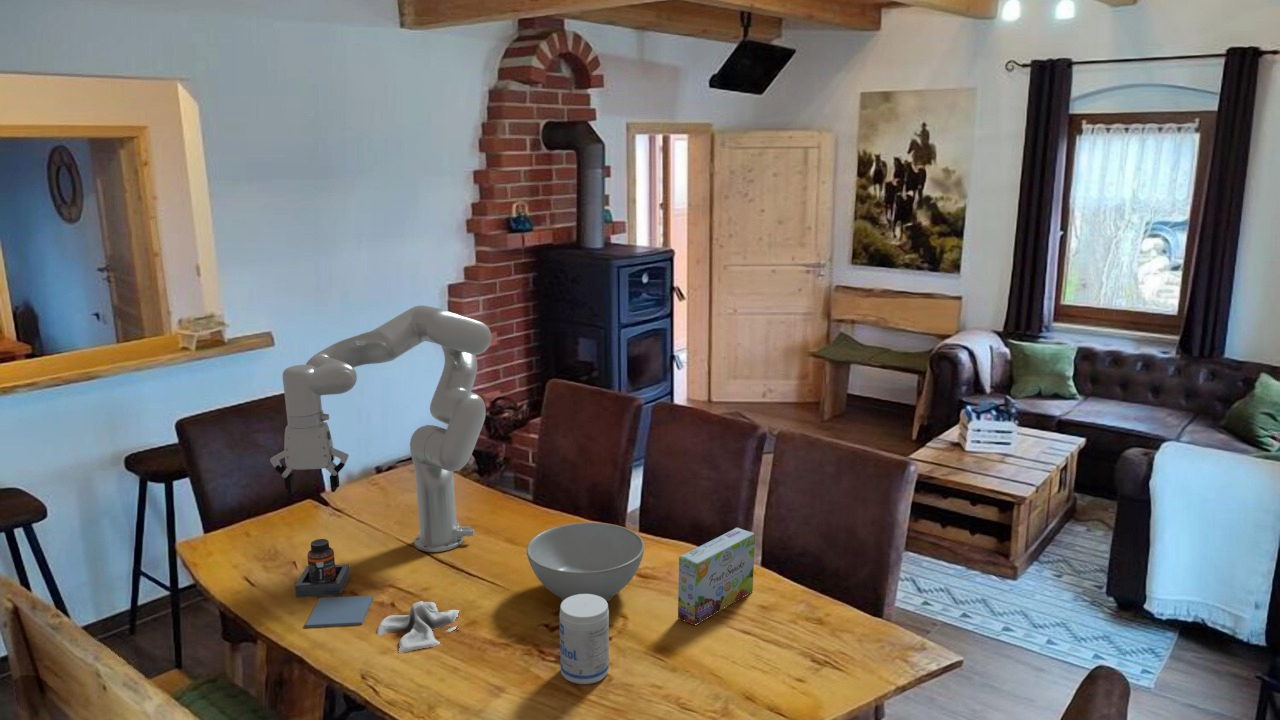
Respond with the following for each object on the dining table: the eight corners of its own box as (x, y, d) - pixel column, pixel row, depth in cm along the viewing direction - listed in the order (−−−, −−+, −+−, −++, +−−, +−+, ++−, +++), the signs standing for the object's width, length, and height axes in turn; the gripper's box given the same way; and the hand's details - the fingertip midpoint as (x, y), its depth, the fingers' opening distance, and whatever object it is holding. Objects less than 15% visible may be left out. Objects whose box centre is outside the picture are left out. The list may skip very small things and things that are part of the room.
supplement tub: (550, 674, 178) (548, 606, 175) (584, 653, 185) (582, 587, 182) (586, 692, 172) (584, 622, 169) (619, 670, 179) (618, 602, 176)
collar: (350, 575, 220) (349, 564, 219) (340, 595, 210) (339, 583, 210) (307, 577, 219) (306, 566, 219) (295, 597, 210) (294, 585, 209)
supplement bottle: (328, 593, 211) (324, 548, 209) (305, 591, 213) (300, 546, 210) (341, 581, 217) (337, 537, 214) (319, 579, 218) (314, 535, 216)
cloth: (415, 663, 183) (412, 635, 182) (357, 635, 194) (355, 609, 193) (494, 617, 201) (492, 592, 199) (437, 594, 212) (435, 570, 210)
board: (373, 597, 209) (373, 595, 209) (362, 624, 197) (361, 622, 197) (320, 600, 208) (319, 598, 208) (305, 627, 196) (305, 624, 196)
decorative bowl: (504, 596, 209) (502, 548, 206) (588, 557, 228) (587, 512, 225) (585, 637, 191) (583, 585, 188) (668, 592, 210) (668, 543, 207)
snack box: (696, 628, 195) (697, 563, 191) (676, 619, 198) (676, 555, 195) (754, 592, 210) (756, 531, 206) (735, 584, 213) (736, 525, 210)
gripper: (348, 413, 209) (355, 483, 213) (271, 416, 208) (279, 486, 212) (340, 423, 202) (347, 495, 206) (260, 426, 201) (269, 499, 205)
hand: (313, 490), depth 209 cm, fingers open, 9 cm apart
